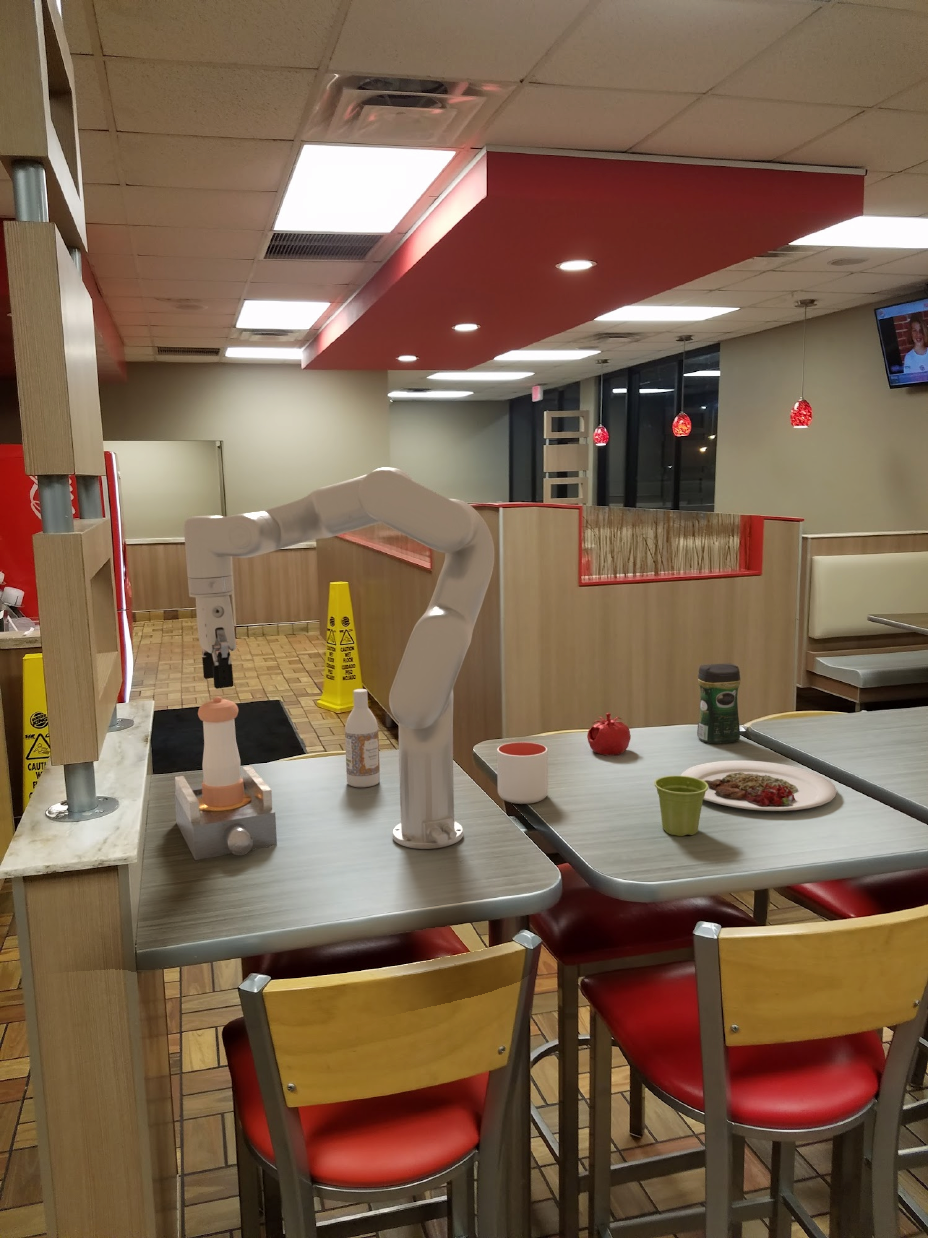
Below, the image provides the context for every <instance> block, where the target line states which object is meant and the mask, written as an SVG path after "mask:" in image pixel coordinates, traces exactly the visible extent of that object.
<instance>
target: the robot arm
mask: <svg viewBox="0 0 928 1238" xmlns="http://www.w3.org/2000/svg"><path fill="white" fill-rule="evenodd" d="M378 524H383V525H385V526H386V527H388V528H390V529H392V530H394V531H396V532H398V533H400V534H402V535H404V536H406V537H408V538H409V539H411V540H414V541H416V542H417V543H420V544H422V545H423V546H425V547H427V548H429V549H432V550H434V551H436V552H439V553H445V554H444V555H445V557H444V561H443V565H442V568H441V570H440V573H439V575H438V579H437V582H436V585H435V588H434V591H433V594H432V596H431V599H430V602H429V603H428V606H427V607H426V610H425V612H424V613H423V614H422V616H421V617H420V618H419V619H418V621H417V622H416V623H415V625H414V627H413V630H412V631H411V633H410V636H409V638H408V641H407V644H406V647H405V650H404V652H403V655H402V658H401V661H400V662H399V666H398V668H397V672H396V674H395V677H394V679H393V682H392V685H391V688H390V691H389V697H388V704H389V708H390V712H391V714H392V715H393V717H394V719H395V720H396V721H397V722H398V768H399V769H398V771H399V772H398V773H399V800H400V801H399V802H400V823H399V824H397V825H395V827H394V828H393V829H392V839H393V840H394V842H395V843H397V844H398V845H400V846H403V847H406V848H411V849H417V850H418V849H419V850H428V849H429V850H431V849H433V850H434V849H440V848H445V847H449V846H451V845H454V844H456V843H458V842H460V841H461V840H462V838H463V837H464V828H463V826H462V825H461V824H460V823H459V822H457V821H455V789H454V787H455V786H454V785H455V783H454V743H453V742H454V734H453V733H454V732H453V731H454V730H453V729H454V727H453V726H454V724H453V722H454V721H453V720H454V687H455V684H456V681H457V679H458V676H459V673H460V670H461V668H462V665H463V663H464V660H465V657H466V654H467V652H468V649H469V647H470V645H471V643H472V638H473V633H474V628H475V625H476V622H477V619H478V616H479V613H480V611H481V608H482V606H483V603H484V599H485V596H486V594H487V591H488V588H489V586H490V585H489V584H490V581H491V578H492V575H493V571H494V565H495V545H494V544H495V543H494V539H493V535H492V533H491V531H490V529H489V526H488V524H487V522H486V521H485V520H484V518H483V517H482V516H481V514H479V512H478V511H477V510H476V509H475V508H474V507H473V506H472V505H470V504H469V503H467V502H466V501H463V500H461V499H457V498H456V499H455V498H448V497H446V496H444V495H442V494H440V493H437V492H436V491H433V490H431V489H430V488H428V487H425V486H424V485H421V484H420V483H419V482H416V481H414V480H413V479H412V477H411V476H410V475H409V474H408V473H407V472H405V471H404V470H402V469H401V468H400V469H399V468H396V467H380V468H376V469H374V470H371V471H370V472H369V473H367V474H364V475H361V476H357V477H355V478H351V479H346V480H344V481H343V480H342V481H340V482H336V483H333V484H330V485H325V486H322V487H319V488H316V489H315V490H313V491H311V492H310V493H309V494H307V495H306V496H304V497H302V498H300V499H297V500H295V501H291V502H287V503H285V504H282V505H279V506H274V507H271V508H268V509H265V510H259V511H253V512H245V513H238V514H232V515H227V516H222V515H199V516H198V515H195V516H194V515H193V516H190V517H188V518H186V519H185V521H184V522H183V533H184V535H183V536H184V547H185V550H184V551H185V561H186V573H187V574H186V575H187V586H188V596H189V598H195V606H196V607H195V609H196V610H195V611H196V612H195V613H196V625H197V633H198V641H199V646H200V647H201V649H202V651H201V653H202V657H201V658H202V659H201V661H202V671H203V674H202V675H203V678H204V679H205V680H209V679H213V687H214V688H215V689H216V690H217V689H224V688H233V687H234V673H233V664H232V657H231V653H230V651H231V652H235V650H236V649H237V642H236V632H235V624H234V615H233V609H232V603H231V598H230V595H233V594H234V593H235V592H234V580H233V579H234V578H233V568H232V558H242V559H243V558H245V559H246V558H252V557H253V558H254V557H257V556H259V555H265V554H268V553H271V552H275V551H279V550H282V549H285V548H288V547H292V546H295V545H299V544H302V543H306V542H311V541H314V540H318V539H329V538H333V537H336V536H339V535H343V534H346V533H350V532H353V531H356V530H361V529H364V528H368V527H371V526H375V525H378Z"/></svg>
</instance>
